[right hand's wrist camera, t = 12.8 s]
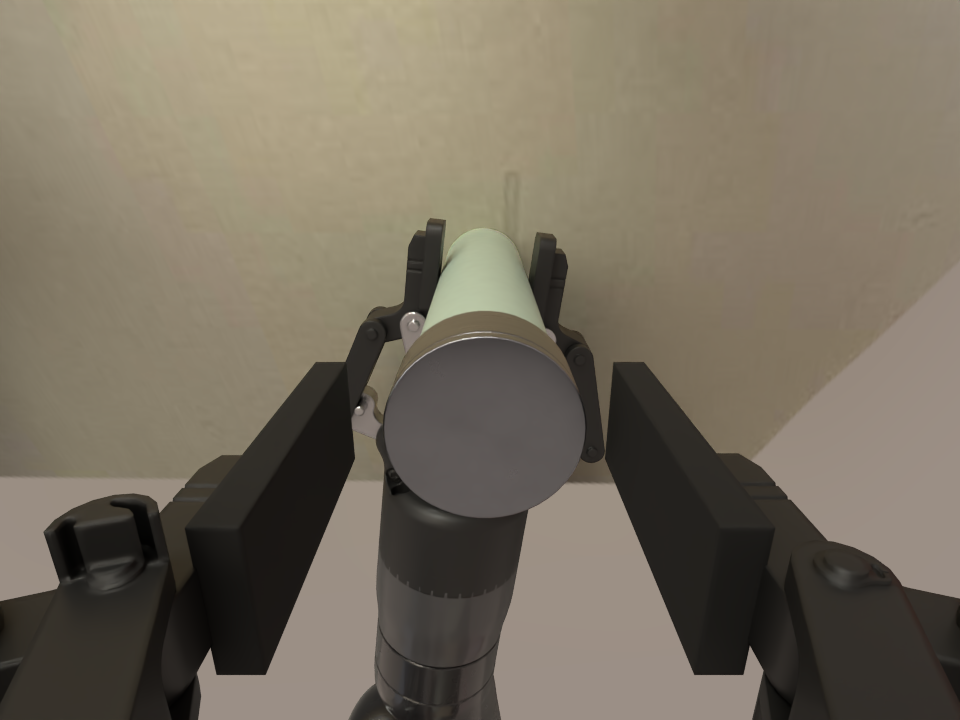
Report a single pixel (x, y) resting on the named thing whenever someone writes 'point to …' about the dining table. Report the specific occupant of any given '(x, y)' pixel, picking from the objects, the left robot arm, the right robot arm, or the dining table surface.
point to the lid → (484, 416)
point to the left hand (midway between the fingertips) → (490, 230)
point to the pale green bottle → (483, 280)
